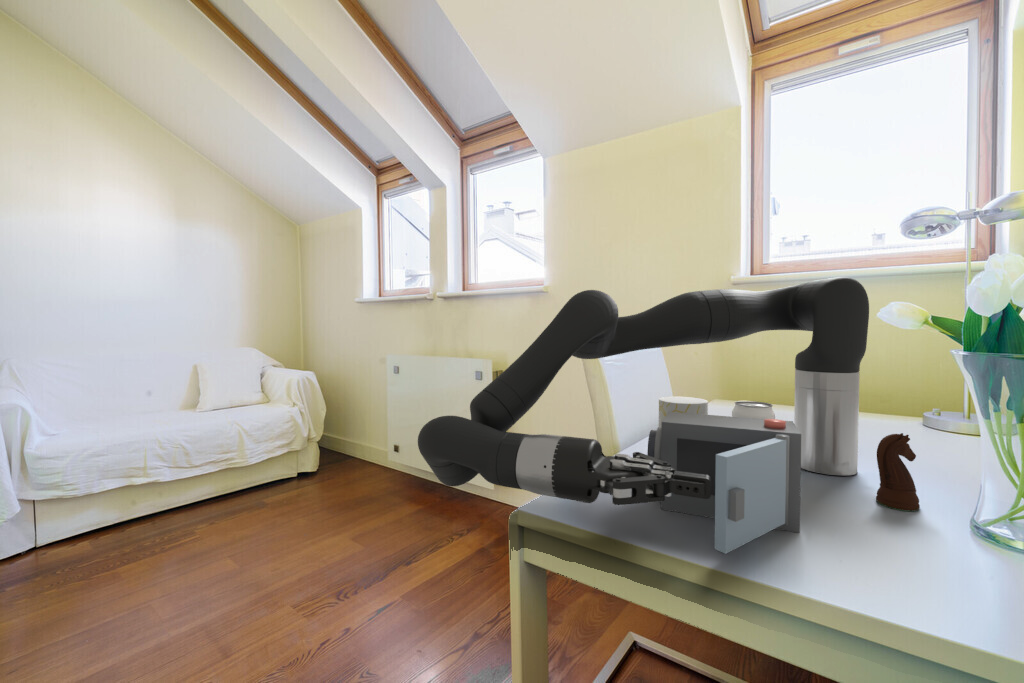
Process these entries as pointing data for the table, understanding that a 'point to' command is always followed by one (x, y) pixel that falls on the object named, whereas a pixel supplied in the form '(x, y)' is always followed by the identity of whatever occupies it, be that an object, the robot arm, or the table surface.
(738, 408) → the can
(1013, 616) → the table surface
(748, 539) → the side door
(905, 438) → the chess piece
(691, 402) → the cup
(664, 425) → the grey box
